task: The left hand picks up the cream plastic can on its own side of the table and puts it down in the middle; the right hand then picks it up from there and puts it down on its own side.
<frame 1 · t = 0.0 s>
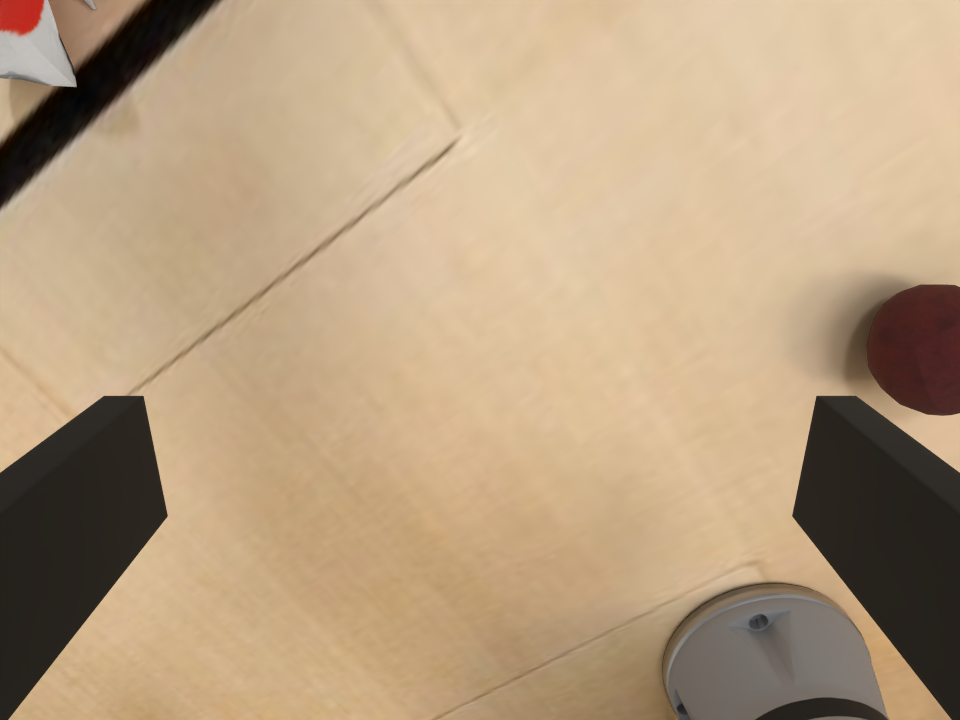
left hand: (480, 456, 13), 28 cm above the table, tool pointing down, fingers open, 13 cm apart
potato: (899, 328, 41), on the table
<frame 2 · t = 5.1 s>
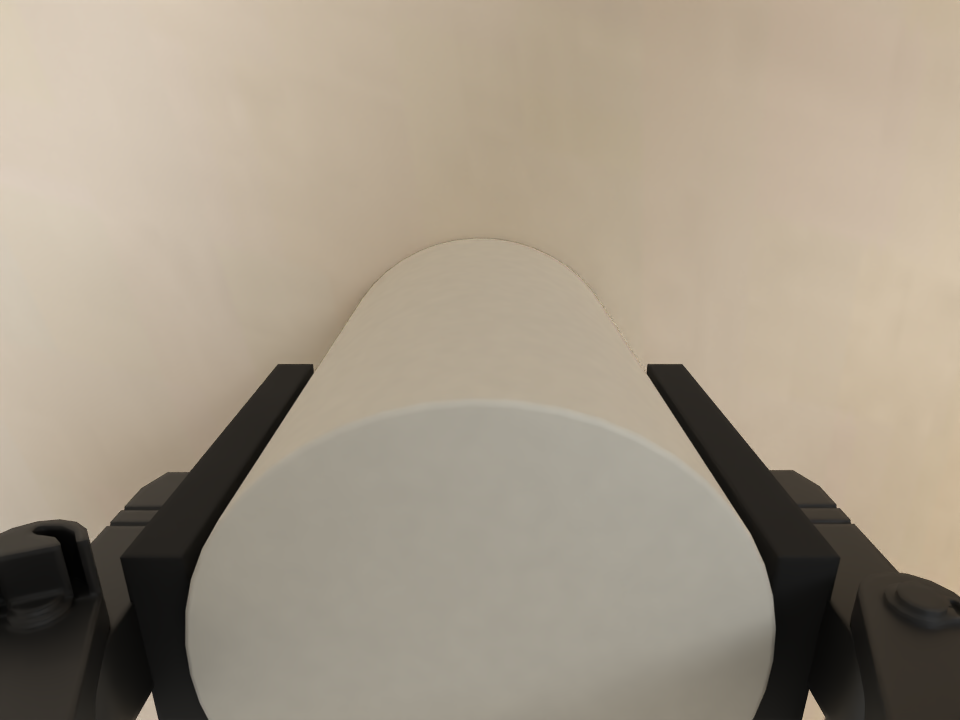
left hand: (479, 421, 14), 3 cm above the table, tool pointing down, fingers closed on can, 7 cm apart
can: (480, 375, 17), on the table, touching left hand
when the left hand's fingers open (4 cm above the table, at t = 10.8 s): can drops 1 cm, on the table.
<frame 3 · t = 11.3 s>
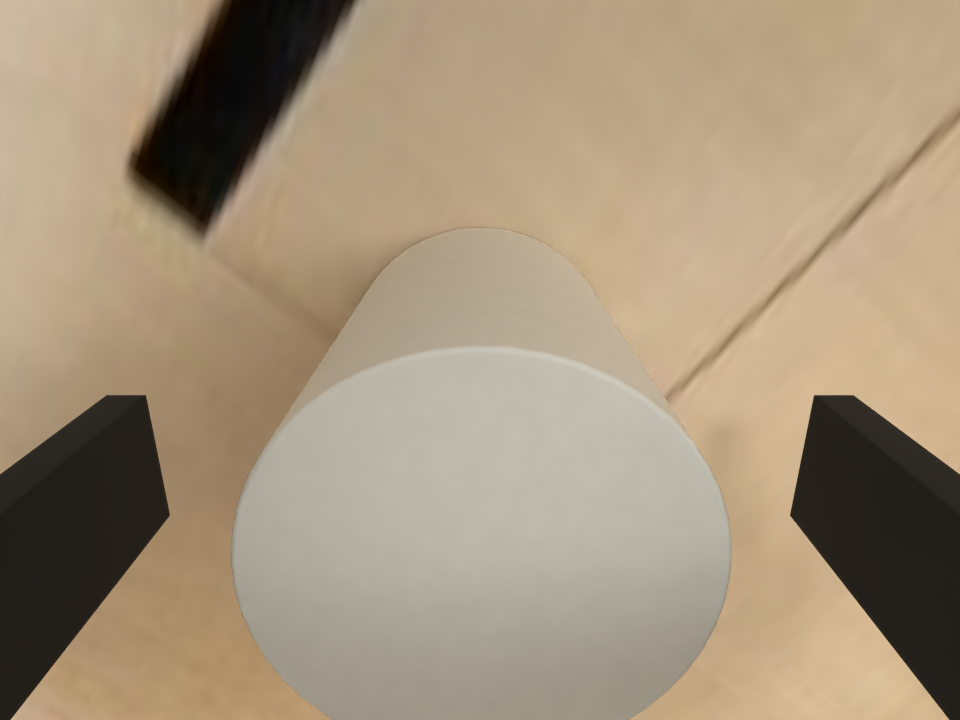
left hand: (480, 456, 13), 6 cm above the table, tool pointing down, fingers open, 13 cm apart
can: (480, 355, 18), on the table
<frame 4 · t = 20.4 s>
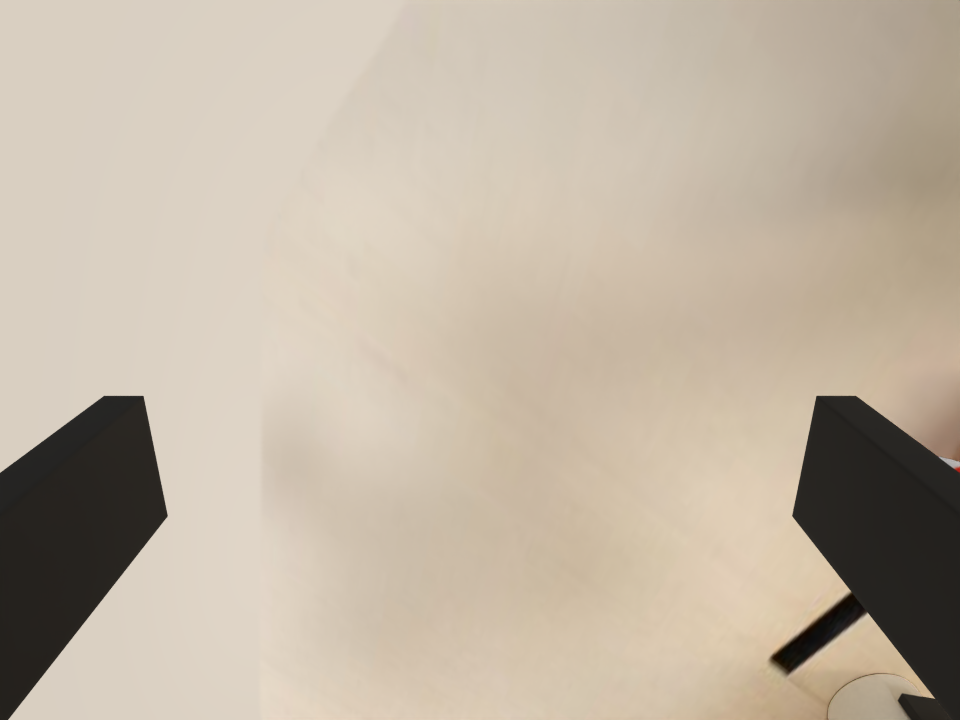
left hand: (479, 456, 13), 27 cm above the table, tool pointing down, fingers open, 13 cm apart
can: (872, 707, 52), on the table, touching right hand
when the right hand's fingers open (4 cm above the table, at t = 28.7 s): can drops 1 cm, on the table.
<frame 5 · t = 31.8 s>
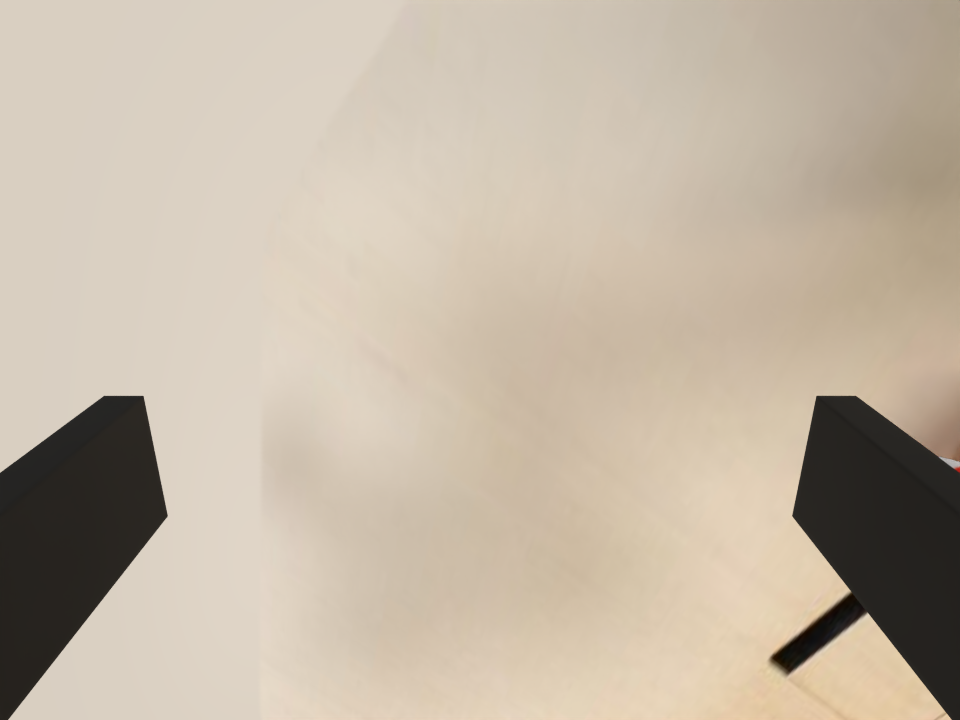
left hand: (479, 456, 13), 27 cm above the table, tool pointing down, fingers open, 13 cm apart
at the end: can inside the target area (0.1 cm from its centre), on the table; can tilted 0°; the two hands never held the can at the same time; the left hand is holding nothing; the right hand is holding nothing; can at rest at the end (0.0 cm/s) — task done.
